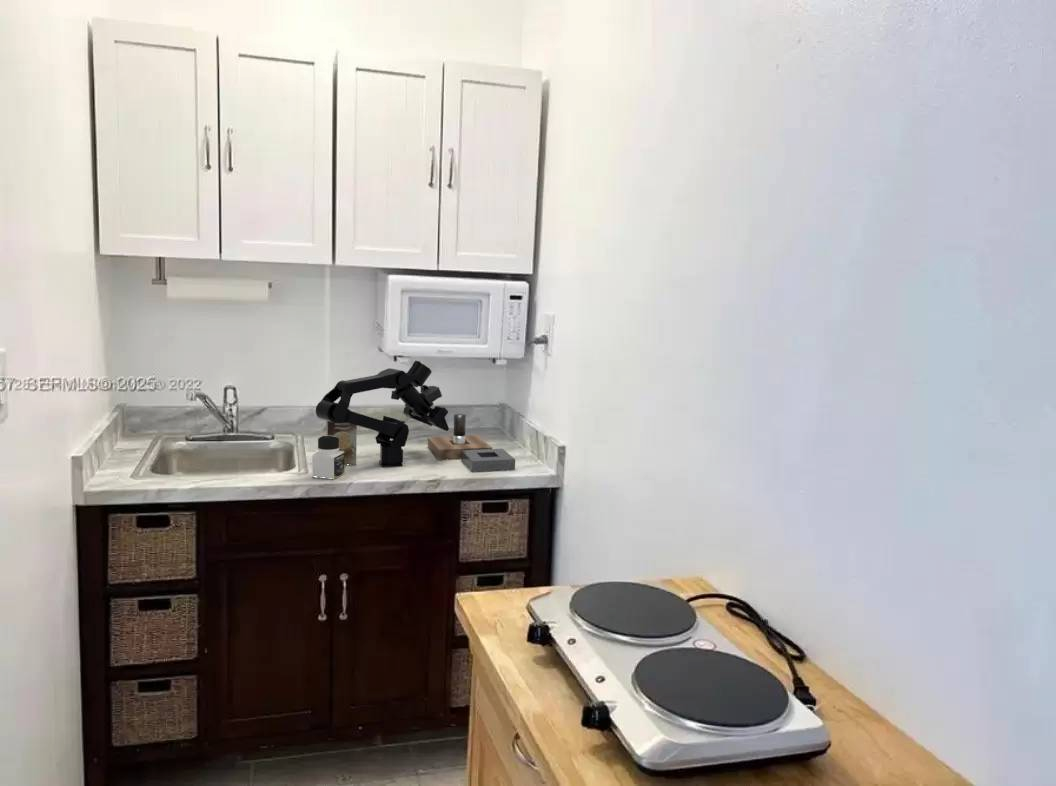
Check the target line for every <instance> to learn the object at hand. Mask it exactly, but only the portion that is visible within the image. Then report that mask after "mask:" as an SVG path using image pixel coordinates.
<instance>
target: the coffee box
mask: <svg viewBox="0 0 1056 786" xmlns="http://www.w3.org/2000/svg"><path fill="white" fill-rule="evenodd" d="M357 428H358V427H357V425H354V424H351V423H334V422H330V421H326V420H325V429H326V430H325V436H327V435H332V436H336V437H338V438H339V450H338V451H344V452H345V466H351V465H350V464H356V465H357V430H358V429H357ZM347 464H349V465H347Z"/></svg>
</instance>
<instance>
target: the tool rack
mask: <svg viewBox="0 0 1056 786" xmlns="http://www.w3.org/2000/svg"><path fill="white" fill-rule="evenodd" d="M427 448H428V450H430V452H431V451H432V452H431V453H432V454H433V455H434V456H435V458H437V460H438V461H446V460H447V459H448V460H449V459H453V460H461V450H481V449H493V447H492V445H490V444H489V443H488V442H486V440H484V439H483V438H482V437H480V435H477V434H476V435H465V444H458V445H453V435H452V436H451V435H450V436H449V435H448V436H428V437H427Z"/></svg>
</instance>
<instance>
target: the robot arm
mask: <svg viewBox="0 0 1056 786" xmlns="http://www.w3.org/2000/svg"><path fill="white" fill-rule="evenodd" d="M431 374H432V369H430V367H428V366H427V365H425V364H424V363H421V361H420V360H414V362H413V363H412V365H411V367H410V368H409V370H408V371H407V372H405V371H404V370H400V369H396V368H386V369H384V370H381V371H379V372H378V373H377V374H375V375H369V376H365V377H358V378H353V379H348V380H340V381H338V382H337V383H336V384H335V386H334V387H333V388H332V389H331V390H330V391H328V392H327V393H326V394H325V395H324V396H323V398H322V399H321V400H320V401H318V403H317V405H316V406H315V415H316V417H317V418H318V419H321V420H323V421H325V422H326V421H330V422H334V423H351V424H354V425H357V426H358V427H361V428H365V429H368V430H373V431H375V432H377V433H378V434H377V435H376V436H375V441H376V444H378V445H379V447H380V448H379V450H380V451H379V453H380V454H379V461H378V462H379V464H380V466H381V467H400V466H401V467H402V466H403V462H404V450H403V447H406V443H407V441H408V438H409V432H410V429H409V425H408V424H407V423H406V421H405V420H401V419H396V418H393V417H390V416H386V415H383V416H382V417H383V418H382V419H378V418H374V417H371V416H368V415H365V414H361V413H359V412H355V411H351V409H349V407H350V404H351V399H352V398H353V397H352V396H354V395H355V394H359V393H364V392H369V391H374V390H379V389H391V390H392V389H394V390H392V391H391V395H390V396H391V397H390V399H391V400H395V401H396V400H397V401H399V400H401V401H402V402H403V403H404V406H405V407H404V408H403V414H404V415H405V416H406V417H408V418H410V419H413V420H415V421H418V422H420V423H423V424H425V425H428V426H431V427H432V426H433V427H437V428H438V429H441V430H443V431H446V432H448V431H449V430H450V427H449V425H448V423H447V420H446V417H447V415H448V414H449V410H448V409H447V408H446V407H445V406H441V405H436V406H434V404H435V403H434V402H435V401H436V400H438V399H439V398H442V397H443V395H442V391H441V390H440V387H439V386H435V385H429V386H428V385H426V384H425V382H426V381H427V380H428V379H429V377H430V376H431ZM418 387H420V391H419V390H418V389H417V388H418ZM338 399H339V401H338V402H336V401H337V400H338ZM433 406H434V407H433Z"/></svg>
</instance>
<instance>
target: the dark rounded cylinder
mask: <svg viewBox="0 0 1056 786" xmlns="http://www.w3.org/2000/svg"><path fill="white" fill-rule="evenodd" d="M452 436H453V445H458V444H465V436H466V414H464V413H455V414H453V435H452Z"/></svg>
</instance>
